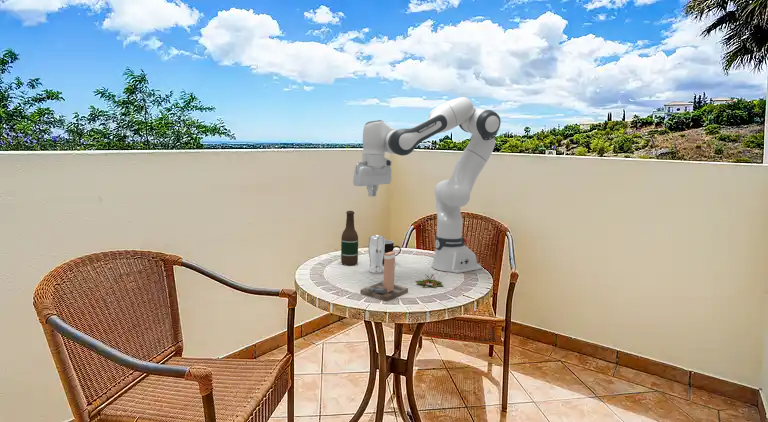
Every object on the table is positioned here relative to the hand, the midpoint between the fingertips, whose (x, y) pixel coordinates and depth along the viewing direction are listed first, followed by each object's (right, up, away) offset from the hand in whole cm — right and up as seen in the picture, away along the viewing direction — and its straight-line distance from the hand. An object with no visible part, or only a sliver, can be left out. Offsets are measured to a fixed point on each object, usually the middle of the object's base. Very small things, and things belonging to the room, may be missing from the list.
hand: (372, 196), depth 182 cm
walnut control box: (+5, -36, -16) cm, 40 cm away
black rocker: (+3, -34, -21) cm, 40 cm away
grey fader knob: (+5, -34, -12) cm, 36 cm away
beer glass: (+1, -32, +12) cm, 34 cm away
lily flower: (+23, -35, -3) cm, 42 cm away
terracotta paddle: (+6, -35, -19) cm, 40 cm away
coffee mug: (+6, -30, +25) cm, 40 cm away
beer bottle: (-11, -30, +23) cm, 39 cm away
